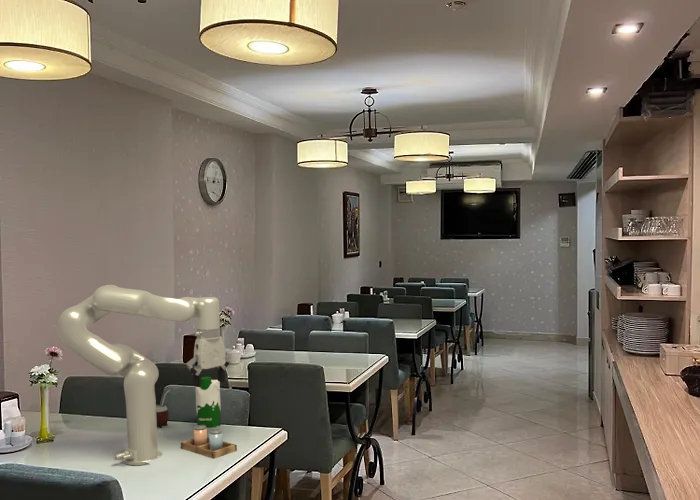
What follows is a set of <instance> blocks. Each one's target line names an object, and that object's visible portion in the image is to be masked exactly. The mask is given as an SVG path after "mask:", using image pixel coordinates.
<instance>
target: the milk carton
mask: <svg viewBox="0 0 700 500" xmlns="http://www.w3.org/2000/svg"><path fill="white" fill-rule="evenodd" d="M220 386H221V382H219V381H218V379H212V377H211V376H202V377H201V387H195V386H194V389H195V411H196V412H195V413H196V426H197V425H206V428H207V429H208V428H210V429H211V428H212V429H213V428H217V427H220V426H221V423H222V422H221V420H222V419H221V417H222V414H221V413H222V410H221V408H222V407H221V388H220Z"/></svg>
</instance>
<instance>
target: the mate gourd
mask: <svg viewBox="0 0 700 500" xmlns="http://www.w3.org/2000/svg"><path fill="white" fill-rule="evenodd" d="M171 390H172V389H171V388H170V389H168V390H167V391H165V393H164V394H163V397H162V398H163V399H162V402H161V404H156V417H157V428H159V429H162V428H163V427H168V426H169V425H168V422H169V413H170V412H169V408H168V407H167V406H166V405H165V404H164V403H165V400H166V397H167V394H169V392H170V391H171Z"/></svg>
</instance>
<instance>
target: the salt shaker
mask: <svg viewBox="0 0 700 500" xmlns="http://www.w3.org/2000/svg"><path fill="white" fill-rule="evenodd" d="M223 436H224V435H223V430H222V429H221V428H215V429H213V428H212V429H210V430H209V434H208V437H209V444H210V450H211V451H216V450H219V449H222V448H223V441H224V439H223Z"/></svg>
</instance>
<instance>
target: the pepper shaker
mask: <svg viewBox="0 0 700 500" xmlns="http://www.w3.org/2000/svg"><path fill="white" fill-rule="evenodd" d="M207 437H208V428H206V425H197V424H196V425H194V426H193V439H194V446H201V445H204V444H207Z"/></svg>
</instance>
